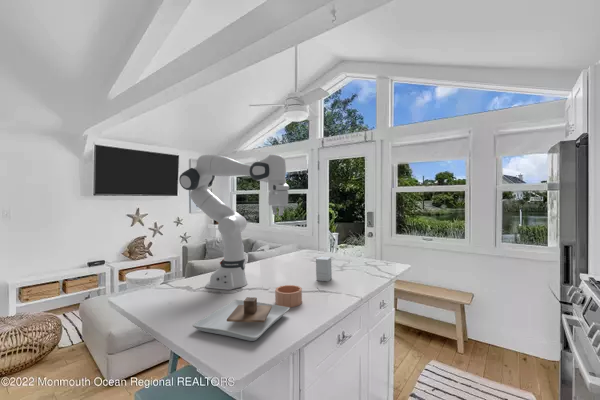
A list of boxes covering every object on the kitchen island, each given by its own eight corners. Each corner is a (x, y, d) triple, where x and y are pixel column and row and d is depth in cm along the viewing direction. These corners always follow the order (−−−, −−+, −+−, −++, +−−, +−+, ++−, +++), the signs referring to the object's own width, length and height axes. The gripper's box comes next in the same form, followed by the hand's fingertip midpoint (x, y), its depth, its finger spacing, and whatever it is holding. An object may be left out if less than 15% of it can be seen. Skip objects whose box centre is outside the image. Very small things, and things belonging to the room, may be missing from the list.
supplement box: (332, 278, 168) (331, 257, 168) (327, 281, 161) (327, 259, 161) (320, 277, 171) (320, 256, 171) (315, 280, 165) (315, 258, 164)
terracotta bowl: (273, 306, 126) (273, 293, 126) (278, 297, 138) (278, 285, 137) (300, 307, 124) (300, 293, 124) (302, 297, 136) (302, 285, 136)
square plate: (235, 307, 128) (235, 298, 128) (291, 315, 117) (290, 306, 117) (191, 334, 103) (191, 323, 103) (256, 348, 92) (256, 336, 92)
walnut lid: (226, 321, 104) (226, 305, 104) (238, 306, 118) (238, 292, 118) (264, 322, 103) (264, 306, 102) (271, 307, 116) (271, 293, 116)
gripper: (265, 187, 149) (265, 214, 149) (277, 186, 130) (278, 216, 130) (276, 187, 151) (277, 213, 151) (290, 186, 132) (290, 215, 132)
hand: (277, 215), depth 141 cm, fingers open, 8 cm apart
